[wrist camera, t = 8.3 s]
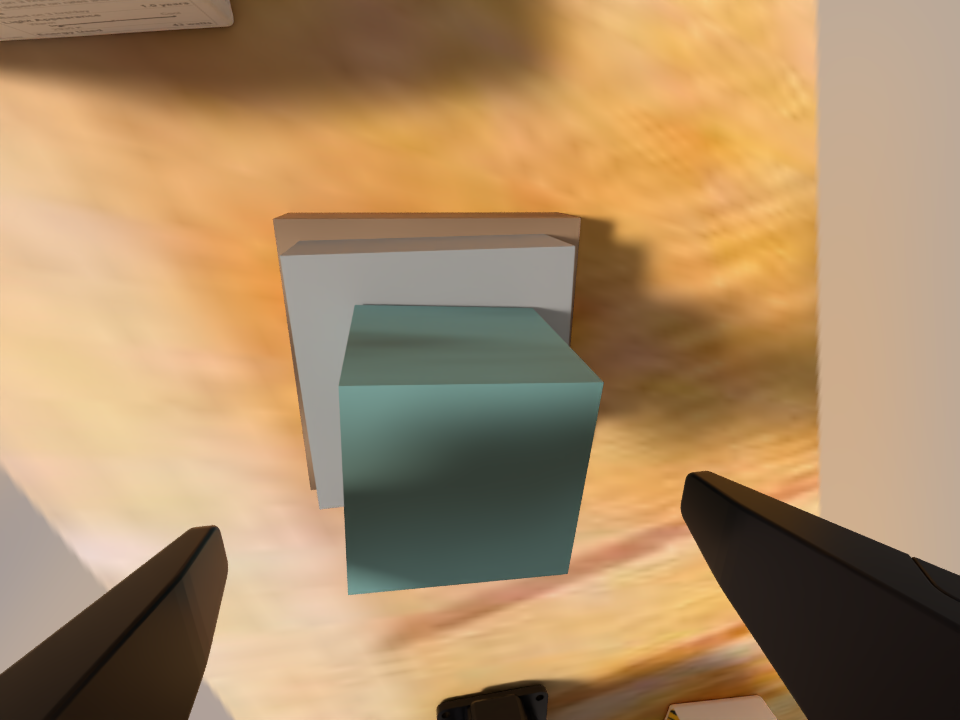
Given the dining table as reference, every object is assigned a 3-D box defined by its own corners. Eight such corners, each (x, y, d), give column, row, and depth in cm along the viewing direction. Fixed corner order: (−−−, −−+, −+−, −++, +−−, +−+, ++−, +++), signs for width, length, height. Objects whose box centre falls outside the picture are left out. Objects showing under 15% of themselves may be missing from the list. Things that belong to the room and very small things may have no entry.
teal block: (515, 453, 16) (567, 573, 11) (359, 460, 15) (348, 594, 10) (532, 307, 14) (603, 382, 9) (354, 304, 13) (338, 386, 8)
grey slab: (535, 437, 19) (559, 481, 17) (329, 458, 18) (319, 509, 15) (543, 233, 16) (575, 246, 14) (299, 240, 15) (279, 255, 12)
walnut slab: (539, 430, 23) (560, 465, 20) (320, 448, 21) (311, 489, 18) (553, 211, 19) (581, 217, 16) (291, 211, 17) (273, 218, 15)
